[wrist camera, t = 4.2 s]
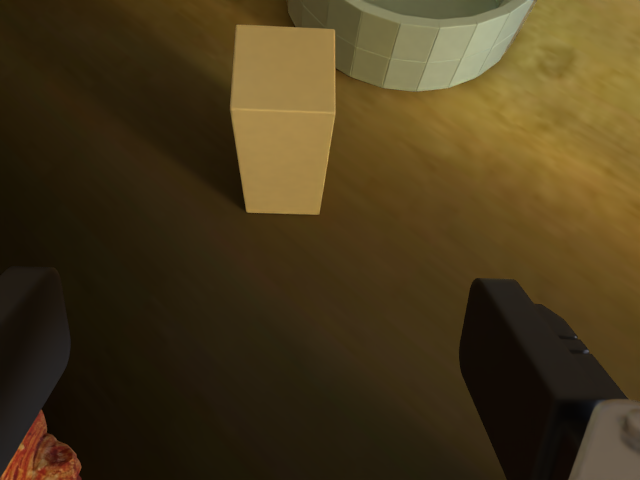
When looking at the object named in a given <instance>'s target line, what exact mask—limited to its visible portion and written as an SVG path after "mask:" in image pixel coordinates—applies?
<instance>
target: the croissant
mask: <svg viewBox="0 0 640 480" xmlns="http://www.w3.org/2000/svg"><path fill="white" fill-rule="evenodd" d="M80 470H81V464H80V461H79V460H78V459H77V454H76V453H75V452H74V451H73V450H72V449H71V448H70V447H69V446H68V445H67V444H64V443H62V442H59V441H58V440H57V439H56V438H55V437H54V436H53V435H51V434H48V433H47V425H46V421H45V417H44V414H43V412H42V410H41V411H40V412H39V414H38V416H37V417H36V419H35V421H34V422H33V424H32V426H31V427H30V429H29V431H28V432H27V434H26V436H25V437H24V439H23V441H22V442H21V444H20V446H19V448H18V449H17V451H16V453H15V454H14V456H13V458H12V459H11V461H10V463H9V464H8V466H7V468H6V469H5V471H4V473H3V474H2V476H1V478H0V480H81V477H80V476H79V472H80Z"/></svg>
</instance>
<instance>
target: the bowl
mask: <svg viewBox="0 0 640 480" xmlns="http://www.w3.org/2000/svg"><path fill="white" fill-rule="evenodd" d="M536 2H537V0H286V3H287V8H288V12H289V15H290V17H291V19H292V21H293V23H294V25H295V27H302V28H323V29H334V30H335V68H337V69H338V70H340V71H341V72H343V73H345V74H346V75H348V76H349V77H350V76H351V77H352V78H355V79H358V80H361V81H363V82H366V83H369V84H372V85H375V86H378V87H381V88H386V89H395V90H403V91H412V92H415V91H416V92H418V91H427V90H436V89H445V88H450V87H453V86H455V85H458V84H461V83H463V82H466V81H469V80H472V79H474V78H476V77H478V76H479V75H481V74H482V73H484V72H485V71H486V70H488V69H489V68H490V67H492V66H493V65H495V64H496V63H497V62H499V61H500V59H501V58H502V57H503V55H504V54H505V52H506V51H507V50H508V48H509V47H510V46H511V44H512V43H513V42H514V40H515V38H516V36H517V35H518V33H519V31H520V29H521V28H522V26H523V24H524V22H525V21H526V19H527V17H528V16H529V14H530V12H531V10H532V9H533V7H534V5H535V3H536Z"/></svg>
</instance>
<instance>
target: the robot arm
mask: <svg viewBox="0 0 640 480" xmlns="http://www.w3.org/2000/svg"><path fill="white" fill-rule="evenodd" d="M70 344H71V342H70V332H69V326H68V320H67V314H66V308H65V302H64V296H63V290H62V284H61V278H60V275H59V273H58V271H57V270H56V269H55V268H54V267H25V266H11V267H9V268H8V269H7V270H6V271H5V272H4V273H3V274H2V275H1V276H0V478H1V476H2V474H3V473H4V471H5V469H6V468H7V466H8V464H9V463H10V461H11V459H12V458H13V456H14V454H15V453H16V451H17V449H18V448H19V446H20V444H21V442H22V441H23V439H24V437H25V436H26V434H27V432H28V431H29V429H30V427H31V426H32V424H33V422H34V421H35V419H36V417H37V416H38V414H39V412H40V411H41V409H42V407H43V405H44V404H45V402H46V400H47V399H48V397H49V395H50V394H51V392H52V390H53V389H54V387H55V385H56V384H57V382H58V380H59V379H60V377H61V375H62V374H63V372H64V370H65V368H66V366H67V363H68V359H69V355H70ZM459 361H460V368H461V373H462V376H463V378H464V381H465V383H466V385H467V388H468V390H469V392H470V395H471V397H472V399H473V402H474V404H475V406H476V408H477V411H478V413H479V415H480V418H481V420H482V422H483V425H484V427H485V429H486V432H487V434H488V436H489V439H490V441H491V443H492V446H493V448H494V450H495V453H496V455H497V457H498V459H499V462H500V464H501V466H502V469H503V471H504V473H505V476H506V478H507V480H640V402H638V401H634V400H629V399H628V398H627V397H626V396H625V395H624V393H623V392H622V391H621V390H620V388H619V387H618V386H617V385H616V383H615V382H614V381H613V380H612V378H611V377H610V376H609V375H608V373H607V372H606V371H605V370H604V368H603V367H602V366H601V365H600V364H599V362H598V361H597V360H596V359H595V357H594V356H593V355H592V354H589V350H588V349H587V347H586V346H585V345H584V344H583V342H582V341H581V340H578V339H577V335H576V334H575V333H574V331H573V330H572V329H571V328H570V326H569V325H568V324H567V323H566V321H565V320H564V319H563V318H561V317H560V316H558V315H557V314H555V313H554V312H552V311H551V310H549V309H548V308H546V307H545V306H543V305H542V304H534V303H533V302H532V301H531V299H530V298H529V297H528V295H527V294H526V293H525V291H524V290H523V289H522V287H521V286H520V285H519V283H518V282H517V281H516V280H514V279H489V278H476V279H475V280H474V281H473V282H472V285H471V288H470V292H469V298H468V303H467V308H466V314H465V319H464V324H463V330H462V335H461V340H460V347H459Z"/></svg>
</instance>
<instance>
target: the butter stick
mask: <svg viewBox="0 0 640 480" xmlns="http://www.w3.org/2000/svg"><path fill="white" fill-rule="evenodd" d="M230 114H231V120H232V126H233V132H234V139H235V145H236V151H237V158H238V164H239V170H240V176H241V183H242V189H243V195H244V202H245V208H246V212H247V213H278V214H312V215H319V213H320V207H321V201H322V195H323V188H324V182H325V176H326V169H327V163H328V157H329V151H330V144H331V138H332V132H333V125H334V119H335V30H334V29H323V28H302V27H281V26H261V25H240V24H237V25H236V28H235V42H234V56H233V69H232V83H231V97H230Z"/></svg>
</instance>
